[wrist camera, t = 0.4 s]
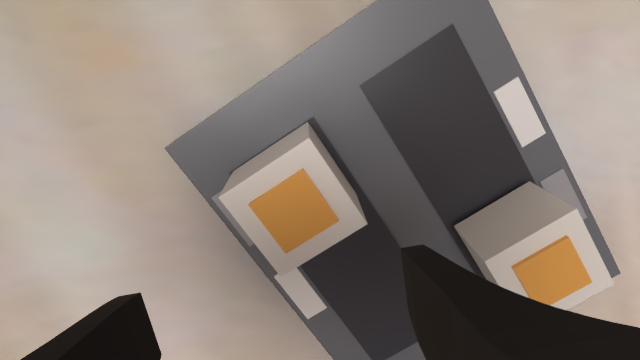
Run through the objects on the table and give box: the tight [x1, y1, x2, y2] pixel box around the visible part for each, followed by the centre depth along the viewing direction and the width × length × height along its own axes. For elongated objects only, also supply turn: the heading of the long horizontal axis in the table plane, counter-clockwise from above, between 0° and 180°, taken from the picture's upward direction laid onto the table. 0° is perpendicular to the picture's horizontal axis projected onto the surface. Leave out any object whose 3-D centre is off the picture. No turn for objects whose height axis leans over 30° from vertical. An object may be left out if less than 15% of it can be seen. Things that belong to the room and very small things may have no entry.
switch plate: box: [165, 0, 620, 360], centre depth 21 cm, size 18×15×1 cm
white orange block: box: [218, 122, 367, 277], centre depth 17 cm, size 4×4×4 cm
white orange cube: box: [454, 181, 614, 310], centre depth 18 cm, size 4×4×4 cm
